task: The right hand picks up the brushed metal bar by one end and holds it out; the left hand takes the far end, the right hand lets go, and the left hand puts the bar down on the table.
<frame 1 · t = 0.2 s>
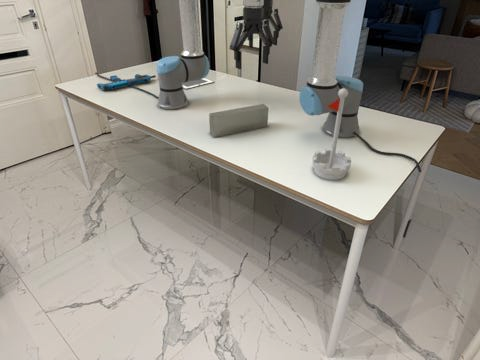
left hand: (252, 65, 136), 28 cm above the table, tool pointing down, fingers open, 13 cm apart
right hand: (263, 46, 167), 28 cm above the table, tool pointing down, fingers open, 13 cm apart
submachine gun: (126, 82, 208), on the table
tablet: (185, 80, 213), on the table
flag stand: (329, 171, 121), on the table
bar: (239, 129, 151), on the table
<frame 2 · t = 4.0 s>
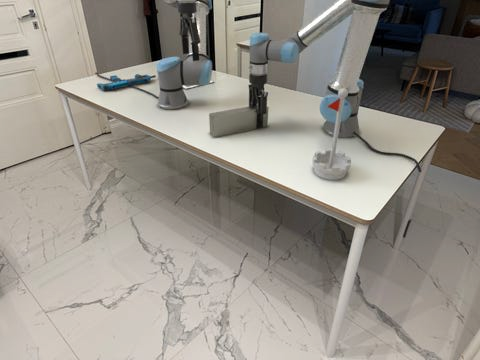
left hand: (190, 57, 146), 28 cm above the table, tool pointing down, fingers open, 13 cm apart
right hand: (256, 125, 154), 1 cm above the table, tool pointing down, fingers closed on bar, 5 cm apart
bar: (239, 129, 151), on the table, touching right hand
everything else where it was.
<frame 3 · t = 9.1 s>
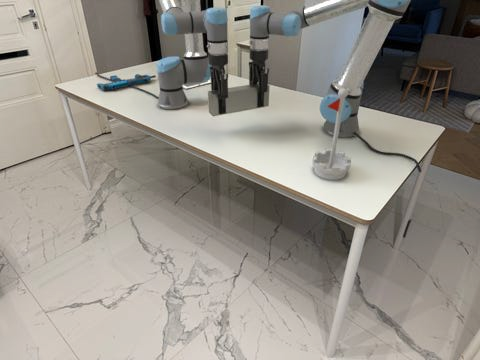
left hand: (220, 111, 142), 10 cm above the table, tool pointing down, fingers closed on bar, 5 cm apart
right hand: (257, 104, 148), 10 cm above the table, tool pointing down, fingers closed on bar, 5 cm apart
bar: (239, 109, 146), point 10 cm above the table, touching right hand, left hand
everything else where it was.
when the right hand's fingers open (10 cm above the table, at t = 9.6 s): bar stays where it is, held by the left hand.
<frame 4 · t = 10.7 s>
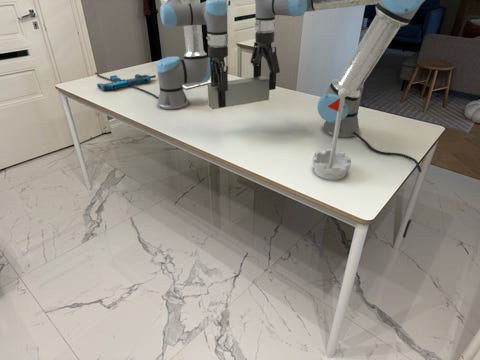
left hand: (219, 104, 141), 13 cm above the table, tool pointing down, fingers closed on bar, 5 cm apart
right hand: (264, 85, 144), 19 cm above the table, tool pointing down, fingers open, 13 cm apart
bar: (239, 102, 144), point 12 cm above the table, touching left hand
everything else where it was.
when the left hand's fingers open (3 cm above the table, at t = 15.8 s): bar drops 2 cm, on the table.
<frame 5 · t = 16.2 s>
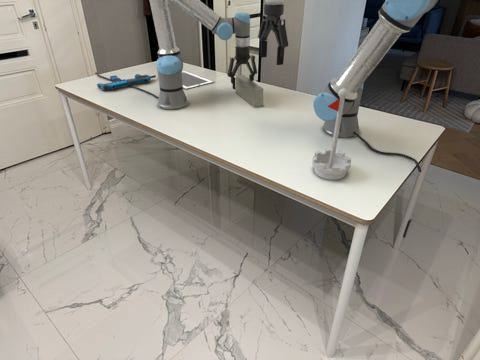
left hand: (242, 87, 189), 3 cm above the table, tool pointing down, fingers open, 9 cm apart
right hand: (271, 60, 141), 28 cm above the table, tool pointing down, fingers open, 13 cm apart
bar: (248, 98, 184), on the table
everything else where it was.
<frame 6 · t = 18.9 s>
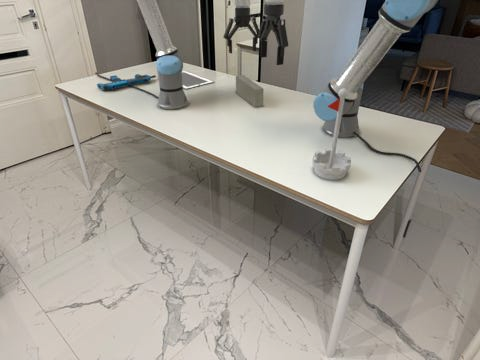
left hand: (242, 51, 179), 23 cm above the table, tool pointing down, fingers open, 13 cm apart
right hand: (271, 60, 141), 28 cm above the table, tool pointing down, fingers open, 13 cm apart
nothing on the table moved.
at the end: bar inside the target area (8.9 cm from its centre), on the table; the left hand is holding nothing; the right hand is holding nothing; bar at rest at the end (0.0 cm/s) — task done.
